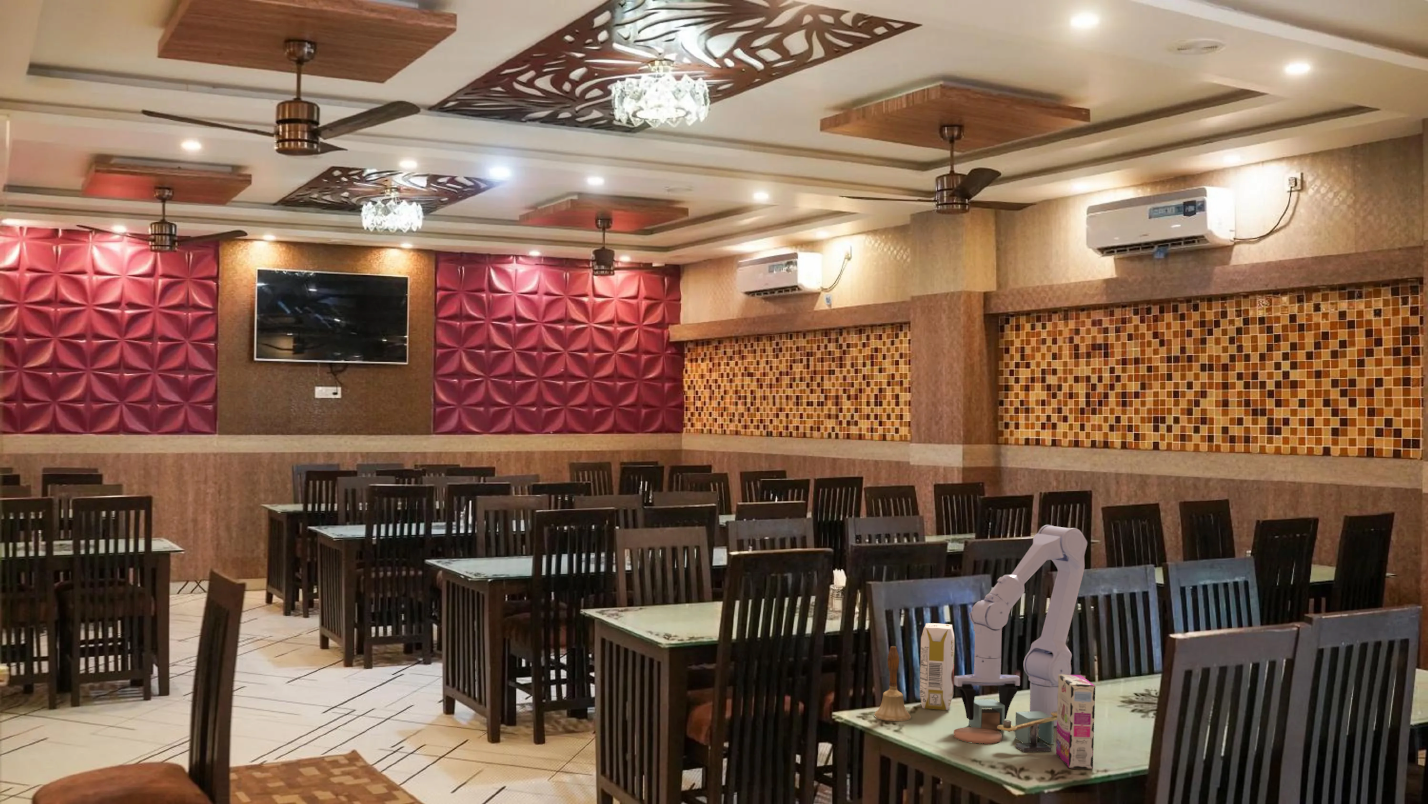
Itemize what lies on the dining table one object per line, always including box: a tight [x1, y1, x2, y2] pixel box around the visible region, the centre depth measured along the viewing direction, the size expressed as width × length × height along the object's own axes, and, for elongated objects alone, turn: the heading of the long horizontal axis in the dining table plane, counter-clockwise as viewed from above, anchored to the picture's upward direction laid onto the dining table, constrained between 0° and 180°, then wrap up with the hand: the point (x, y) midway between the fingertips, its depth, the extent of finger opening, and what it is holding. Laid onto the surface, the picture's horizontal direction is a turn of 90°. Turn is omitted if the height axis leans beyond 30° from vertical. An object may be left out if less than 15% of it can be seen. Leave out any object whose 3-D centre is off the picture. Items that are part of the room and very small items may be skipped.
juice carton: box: [919, 622, 955, 711], centre depth 295 cm, size 8×9×19 cm
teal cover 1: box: [968, 698, 1006, 732], centre depth 275 cm, size 6×6×6 cm
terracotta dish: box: [953, 726, 1003, 745], centre depth 266 cm, size 10×10×1 cm
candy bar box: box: [1055, 674, 1096, 770], centre depth 249 cm, size 11×5×16 cm, turn 178°
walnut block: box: [981, 708, 1001, 732], centre depth 275 cm, size 4×4×4 cm
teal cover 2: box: [1014, 711, 1055, 745], centre depth 265 cm, size 6×6×6 cm
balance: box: [997, 711, 1057, 753], centre depth 258 cm, size 16×4×7 cm, turn 101°
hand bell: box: [873, 645, 912, 722], centre depth 284 cm, size 8×8×16 cm
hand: (986, 718), depth 274 cm, fingers open, 7 cm apart
